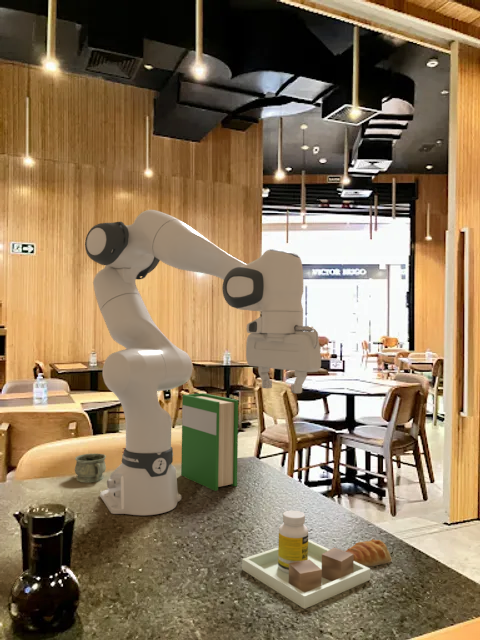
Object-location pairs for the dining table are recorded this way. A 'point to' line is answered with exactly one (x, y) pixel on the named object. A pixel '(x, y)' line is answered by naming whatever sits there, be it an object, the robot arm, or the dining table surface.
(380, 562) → the pastry
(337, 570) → the walnut block
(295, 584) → the walnut block
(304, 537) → the supplement bottle
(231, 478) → the hardback book
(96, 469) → the vessel
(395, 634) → the dining table surface
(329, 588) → the tray
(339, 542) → the dining table surface
